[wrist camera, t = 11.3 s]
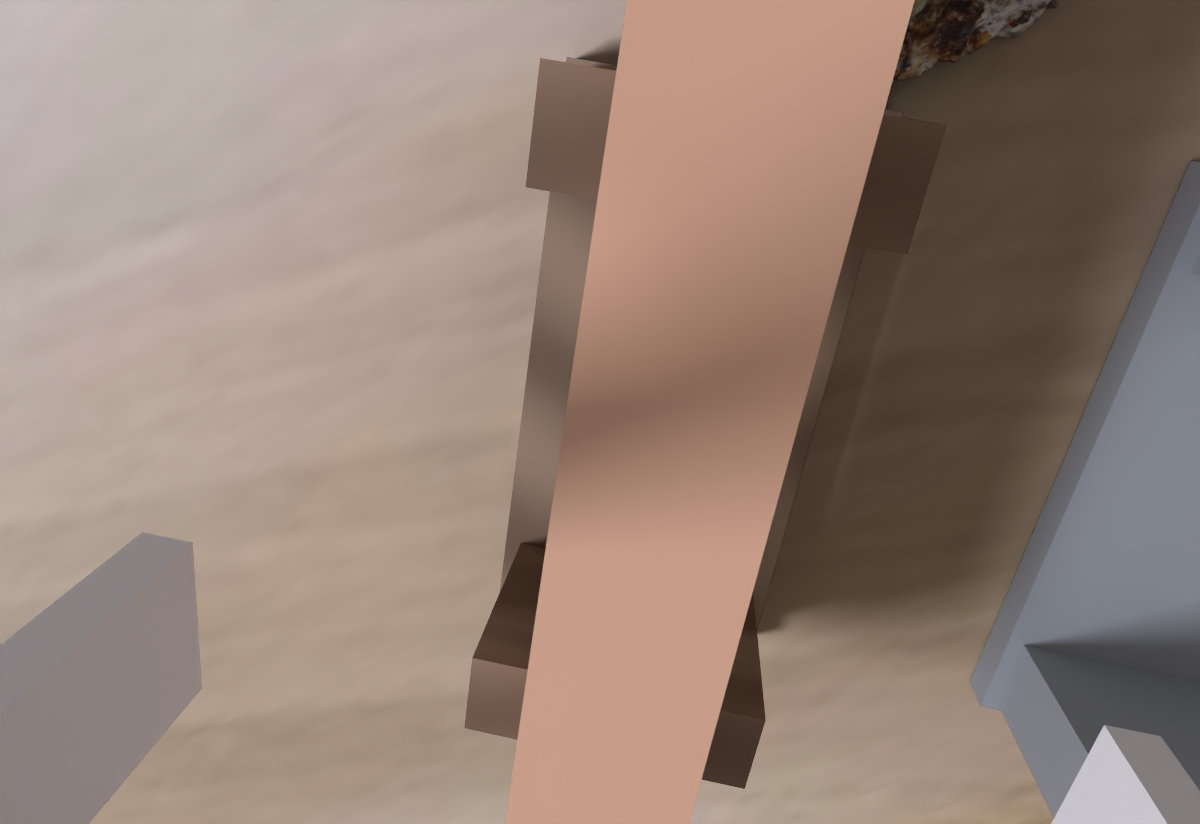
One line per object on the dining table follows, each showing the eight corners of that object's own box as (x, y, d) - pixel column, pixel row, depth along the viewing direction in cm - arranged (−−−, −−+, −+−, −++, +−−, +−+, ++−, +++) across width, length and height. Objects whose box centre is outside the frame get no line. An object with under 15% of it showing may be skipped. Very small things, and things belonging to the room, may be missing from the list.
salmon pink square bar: (658, -55, 15) (642, -108, 11) (874, -22, 14) (932, -64, 11) (523, 801, 23) (488, 934, 19) (657, 830, 23) (648, 972, 19)
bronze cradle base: (573, 59, 22) (517, 40, 15) (893, 111, 22) (976, 115, 15) (506, 587, 29) (446, 731, 22) (747, 636, 28) (760, 799, 22)
